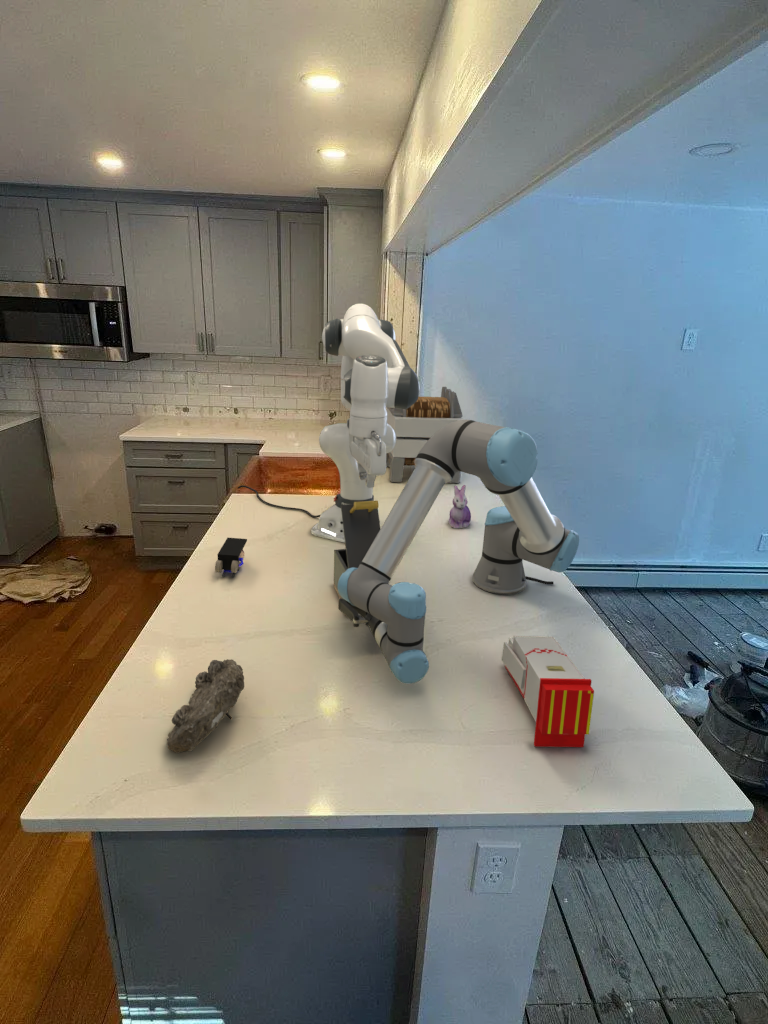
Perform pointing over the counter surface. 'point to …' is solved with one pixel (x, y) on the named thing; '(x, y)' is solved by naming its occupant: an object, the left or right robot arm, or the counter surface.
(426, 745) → the counter surface
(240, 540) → the figurine character
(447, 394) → the transformer
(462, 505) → the figurine
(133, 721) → the counter surface
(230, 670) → the fossil
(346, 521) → the lid
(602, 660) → the counter surface
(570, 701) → the toy
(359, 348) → the left robot arm
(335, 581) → the chest
